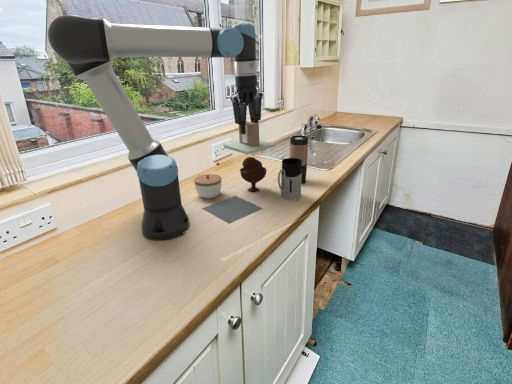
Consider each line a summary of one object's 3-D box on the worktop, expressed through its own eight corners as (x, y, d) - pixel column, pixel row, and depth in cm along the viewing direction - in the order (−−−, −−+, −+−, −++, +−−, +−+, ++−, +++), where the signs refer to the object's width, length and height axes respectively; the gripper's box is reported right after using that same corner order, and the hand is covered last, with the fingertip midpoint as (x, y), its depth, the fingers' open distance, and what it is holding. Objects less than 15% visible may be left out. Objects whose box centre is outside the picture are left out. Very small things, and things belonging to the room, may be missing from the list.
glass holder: (305, 195, 126) (307, 159, 120) (288, 209, 115) (289, 170, 109) (286, 190, 131) (287, 156, 125) (268, 203, 120) (268, 166, 114)
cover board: (247, 154, 110) (245, 129, 106) (223, 147, 120) (221, 123, 116) (275, 146, 118) (275, 122, 114) (251, 139, 128) (250, 117, 124)
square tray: (229, 225, 105) (228, 223, 105) (201, 209, 116) (201, 208, 116) (263, 209, 115) (263, 208, 115) (235, 197, 126) (235, 195, 126)
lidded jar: (190, 199, 125) (187, 177, 121) (205, 189, 133) (203, 168, 130) (213, 204, 120) (211, 181, 117) (227, 193, 129) (226, 172, 126)
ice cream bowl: (264, 197, 125) (264, 161, 119) (237, 195, 127) (235, 160, 121) (268, 187, 134) (268, 153, 129) (243, 185, 137) (242, 152, 131)
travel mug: (309, 183, 138) (311, 138, 130) (293, 186, 135) (295, 140, 127) (300, 177, 144) (302, 134, 136) (285, 180, 142) (286, 136, 134)
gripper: (234, 76, 101) (238, 147, 111) (270, 73, 111) (271, 138, 120) (220, 76, 106) (226, 144, 116) (256, 72, 116) (258, 135, 125)
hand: (249, 141), depth 118 cm, fingers closed on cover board, 3 cm apart
